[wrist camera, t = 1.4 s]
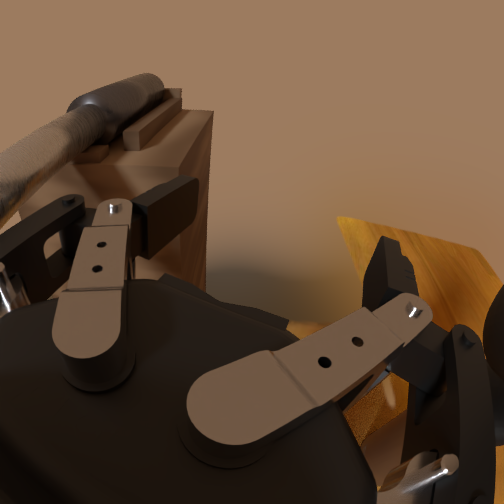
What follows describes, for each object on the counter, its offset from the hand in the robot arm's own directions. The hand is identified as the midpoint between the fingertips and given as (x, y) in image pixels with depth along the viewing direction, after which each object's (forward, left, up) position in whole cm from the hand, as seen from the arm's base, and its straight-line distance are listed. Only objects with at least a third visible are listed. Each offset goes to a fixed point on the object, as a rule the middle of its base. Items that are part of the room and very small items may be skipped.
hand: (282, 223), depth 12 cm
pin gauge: (+11, -5, +1) cm, 12 cm away
